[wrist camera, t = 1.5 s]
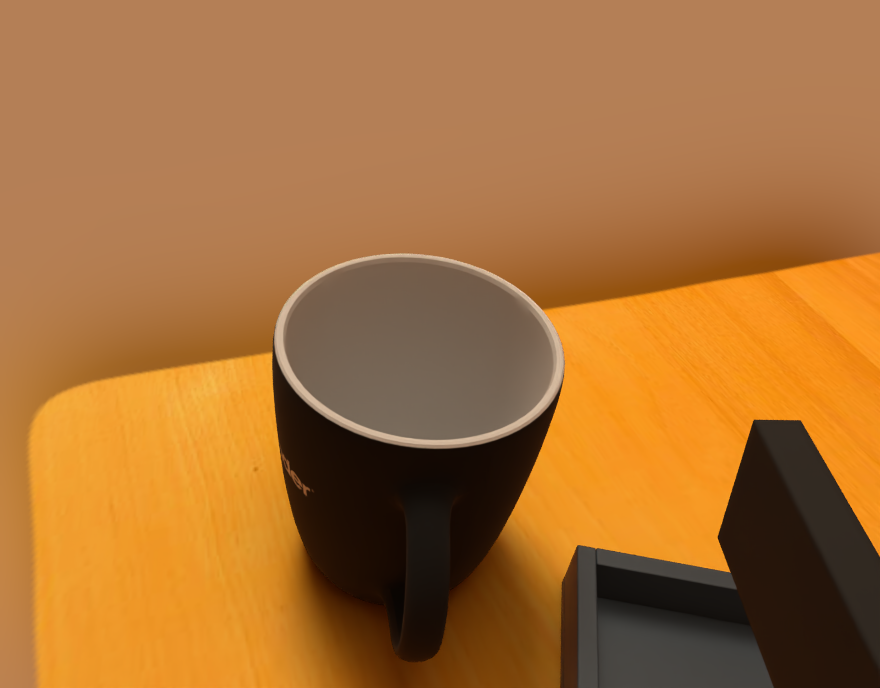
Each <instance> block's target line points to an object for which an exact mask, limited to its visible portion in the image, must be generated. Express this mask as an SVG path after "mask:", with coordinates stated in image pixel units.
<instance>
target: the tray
mask: <svg viewBox="0 0 880 688" xmlns="http://www.w3.org/2000/svg"><path fill="white" fill-rule="evenodd" d="M561 688H774V687H773V684H772V681H771V679H770V676H769V673H768V671H767V668H766V665H765V663H764V660H763V657H762V655H761V652H760V649H759V647H758V644H757V641H756V639H755V636H754V633H753V631H752V628H751V625H750V623H749V620H748V617H747V615H746V612H745V609H744V607H743V604H742V601H741V599H740V596H739V593H738V591H737V588H736V585H735V583H734V580H733V577H732V575H731V573H729V572H724V571H719V570H713V569H708V568H702V567H697V566H691V565H686V564H680V563H675V562H670V561H664V560H659V559H653V558H648V557H642V556H637V555H631V554H626V553H621V552H615V551H610V550H604V549H599V548H597V549H595V548H591V547H586V546H581V545H578V546H577V548H576V550H575V553H574V555H573V557H572V560H571V562H570V565H569V567H568V570H567V572H566V575H565V577H564V579H563V582H562V617H561Z"/></svg>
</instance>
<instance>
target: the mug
mask: <svg viewBox="0 0 880 688" xmlns="http://www.w3.org/2000/svg"><path fill="white" fill-rule="evenodd" d="M564 366H565V361H564V352H563V348H562V344H561V341H560V338H559V335H558V333H557V331H556V330H555V328H554V326H553V324H552V323H551V321H550V320H549V318H548V317H547V316H546V314H545V313H544V312H543V311H542V310H541V308H540V307H539V306H538V305H537V304H536V303H535V302H534V301H533V300H532V299H530V298H529V297H528V296H527V295H526V294H525V293H523V292H522V291H521V290H519V289H518V288H516V287H515V286H514V285H512V284H510V283H509V282H507V281H506V280H504V279H502V278H500V277H498V276H496V275H494V274H492V273H490V272H488V271H485V270H483V269H480V268H478V267H475V266H472V265H469V264H466V263H463V262H459V261H455V260H451V259H447V258H442V257H436V256H429V255H419V254H384V255H375V256H369V257H364V258H359V259H354V260H351V261H348V262H344V263H341V264H339V265H336V266H333V267H331V268H329V269H327V270H325V271H322V272H321V273H319V274H317V275H316V276H314V277H312V278H311V279H310V280H308V281H307V282H305V283H304V284H303V285H302V286H300V287H299V288H298V289H297V290H296V291H295V292H294V293H293V294H292V295H291V297H290V298H289V299H288V301H287V302H286V303H285V305H284V306H283V308H282V310H281V312H280V314H279V317H278V320H277V322H276V327H275V331H274V337H273V359H272V370H273V390H274V403H275V414H276V423H277V431H278V439H279V447H280V454H281V461H282V467H283V473H284V479H285V484H286V488H287V493H288V497H289V501H290V505H291V509H292V513H293V517H294V520H295V523H296V526H297V529H298V532H299V534H300V537H301V539H302V542H303V544H304V546H305V548H306V550H307V552H308V554H309V555H310V557H311V559H312V560H313V562H314V563H315V564H316V566H317V567H318V568H319V569H320V570H321V572H322V573H323V574H324V575H325V576H326V577H327V578H328V579H329V580H330V581H331V582H333V583H334V584H335V585H336V586H338V587H339V588H340V589H342V590H344V591H345V592H347V593H349V594H350V595H352V596H354V597H357V598H359V599H362V600H365V601H368V602H371V603H376V604H381V605H385V606H386V610H387V614H388V620H389V628H390V635H391V641H392V645H393V649H394V652H395V654H396V655H397V656H398V657H399V658H401V659H403V660H405V661H408V662H422V661H425V660H428V659H430V658H432V657H433V656H434V655H435V654H437V652H438V651H439V649H440V646H441V643H442V639H443V635H444V630H445V624H446V617H447V609H448V599H449V590H451V589H453V588H454V587H456V586H457V585H458V584H460V583H461V582H462V581H463V580H464V579H466V578H467V577H468V576H469V575H470V574H471V573H472V572H473V571H474V569H475V568H476V567H477V566H478V565H479V564H480V562H481V561H482V560H483V558H484V557H485V556H486V554H487V553H488V551H489V550H490V549H491V547H492V546H493V544H494V543H495V541H496V539H497V538H498V536H499V534H500V533H501V531H502V529H503V527H504V526H505V524H506V522H507V520H508V518H509V516H510V515H511V513H512V511H513V509H514V507H515V505H516V503H517V501H518V499H519V497H520V495H521V493H522V491H523V488H524V486H525V484H526V482H527V480H528V478H529V475H530V473H531V471H532V469H533V466H534V464H535V462H536V459H537V457H538V454H539V452H540V449H541V447H542V444H543V442H544V439H545V436H546V434H547V431H548V428H549V426H550V423H551V420H552V417H553V415H554V412H555V409H556V406H557V403H558V399H559V396H560V392H561V388H562V383H563V378H564Z"/></svg>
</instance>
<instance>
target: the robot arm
mask: <svg viewBox="0 0 880 688" xmlns="http://www.w3.org/2000/svg"><path fill="white" fill-rule="evenodd" d="M718 540H719V543H720V545H721V548H722V551H723V553H724V556H725V559H726V561H727V564H728V567H729V569H730V572H731V575H732V577H733V580H734V583H735V585H736V588H737V591H738V593H739V596H740V599H741V601H742V604H743V607H744V609H745V612H746V615H747V617H748V620H749V623H750V625H751V628H752V631H753V633H754V636H755V639H756V641H757V644H758V647H759V649H760V652H761V655H762V657H763V660H764V663H765V665H766V668H767V671H768V673H769V676H770V679H771V681H772V684H773V687H774V688H880V557H879V555H878V553H877V551H876V550H875V548H874V546H873V545H872V543H871V541H870V539H869V538H868V536H867V534H866V532H865V531H864V529H863V527H862V526H861V524H860V522H859V520H858V519H857V517H856V515H855V513H854V512H853V510H852V508H851V507H850V505H849V503H848V501H847V500H846V498H845V496H844V494H843V493H842V491H841V489H840V488H839V486H838V484H837V482H836V481H835V479H834V477H833V475H832V474H831V472H830V470H829V469H828V467H827V465H826V463H825V462H824V460H823V458H822V456H821V455H820V453H819V451H818V450H817V448H816V446H815V444H814V443H813V441H812V439H811V437H810V436H809V434H808V432H807V431H806V429H805V427H804V425H803V424H802V422H801V421H799V420H754V421H753V424H752V427H751V430H750V434H749V437H748V440H747V443H746V447H745V450H744V453H743V456H742V460H741V463H740V466H739V469H738V473H737V476H736V479H735V482H734V486H733V489H732V492H731V496H730V499H729V502H728V505H727V509H726V512H725V515H724V518H723V522H722V525H721V528H720V531H719V535H718Z"/></svg>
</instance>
